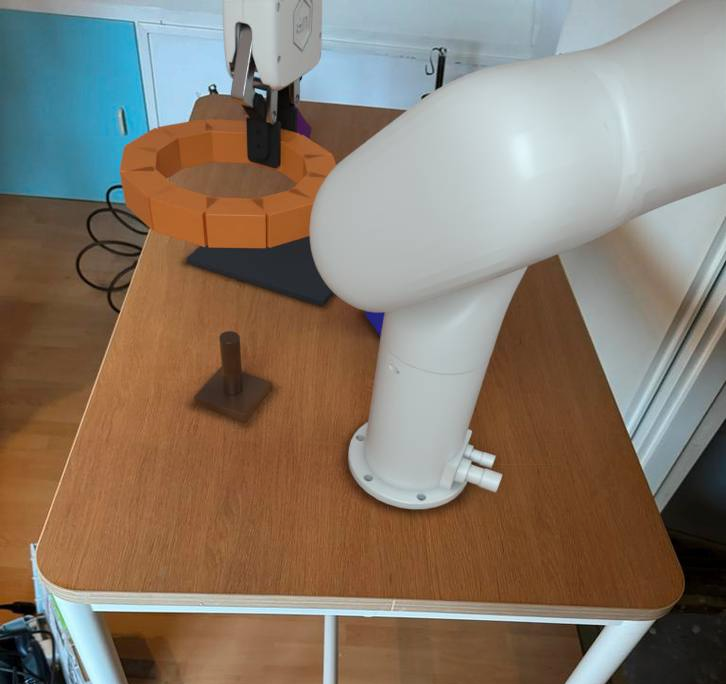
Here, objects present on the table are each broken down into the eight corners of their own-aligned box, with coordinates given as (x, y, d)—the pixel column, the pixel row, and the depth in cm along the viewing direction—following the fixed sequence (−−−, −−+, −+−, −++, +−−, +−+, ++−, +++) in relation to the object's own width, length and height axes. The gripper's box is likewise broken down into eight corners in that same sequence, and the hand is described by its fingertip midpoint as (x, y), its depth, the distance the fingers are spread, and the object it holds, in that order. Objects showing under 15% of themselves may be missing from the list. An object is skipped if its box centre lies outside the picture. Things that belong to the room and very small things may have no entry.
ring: (364, 181, 62) (367, 151, 59) (282, 271, 50) (282, 238, 48) (196, 134, 64) (193, 104, 62) (82, 209, 53) (73, 175, 51)
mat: (372, 245, 94) (373, 240, 93) (322, 306, 82) (323, 301, 82) (250, 209, 97) (250, 203, 97) (186, 263, 86) (186, 257, 85)
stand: (271, 389, 71) (270, 330, 65) (245, 423, 67) (241, 362, 61) (223, 373, 72) (218, 312, 66) (194, 405, 68) (186, 344, 62)
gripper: (268, -73, 42) (269, 201, 56) (357, -99, 52) (340, 138, 66) (167, -95, 43) (193, 179, 57) (274, -117, 53) (274, 120, 67)
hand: (272, 155), depth 61 cm, fingers closed on ring, 2 cm apart
